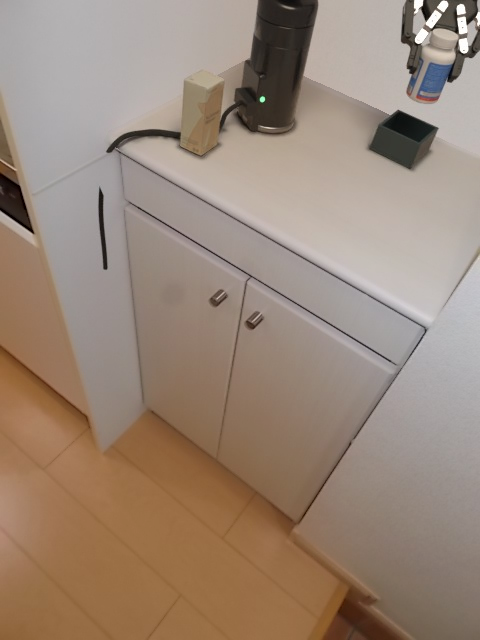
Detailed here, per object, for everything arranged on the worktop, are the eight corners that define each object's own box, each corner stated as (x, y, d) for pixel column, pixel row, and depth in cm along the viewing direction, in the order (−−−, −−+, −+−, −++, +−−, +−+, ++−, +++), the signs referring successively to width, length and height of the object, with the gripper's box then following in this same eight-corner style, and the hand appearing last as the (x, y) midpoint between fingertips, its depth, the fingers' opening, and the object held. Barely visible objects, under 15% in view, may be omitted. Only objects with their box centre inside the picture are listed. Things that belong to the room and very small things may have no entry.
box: (200, 157, 84) (206, 89, 75) (178, 146, 85) (181, 79, 76) (218, 143, 87) (226, 77, 78) (197, 133, 88) (202, 67, 80)
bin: (410, 168, 89) (420, 144, 86) (369, 149, 92) (378, 124, 88) (428, 151, 94) (439, 127, 91) (389, 132, 96) (398, 109, 93)
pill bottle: (443, 100, 86) (471, 37, 78) (425, 108, 83) (452, 45, 76) (416, 85, 88) (440, 23, 81) (398, 93, 85) (421, 30, 78)
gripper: (421, -61, 76) (391, 56, 78) (518, -41, 76) (487, 77, 77) (407, -31, 84) (381, 76, 85) (496, -12, 83) (468, 95, 85)
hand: (431, 76), depth 81 cm, fingers closed on pill bottle, 5 cm apart
